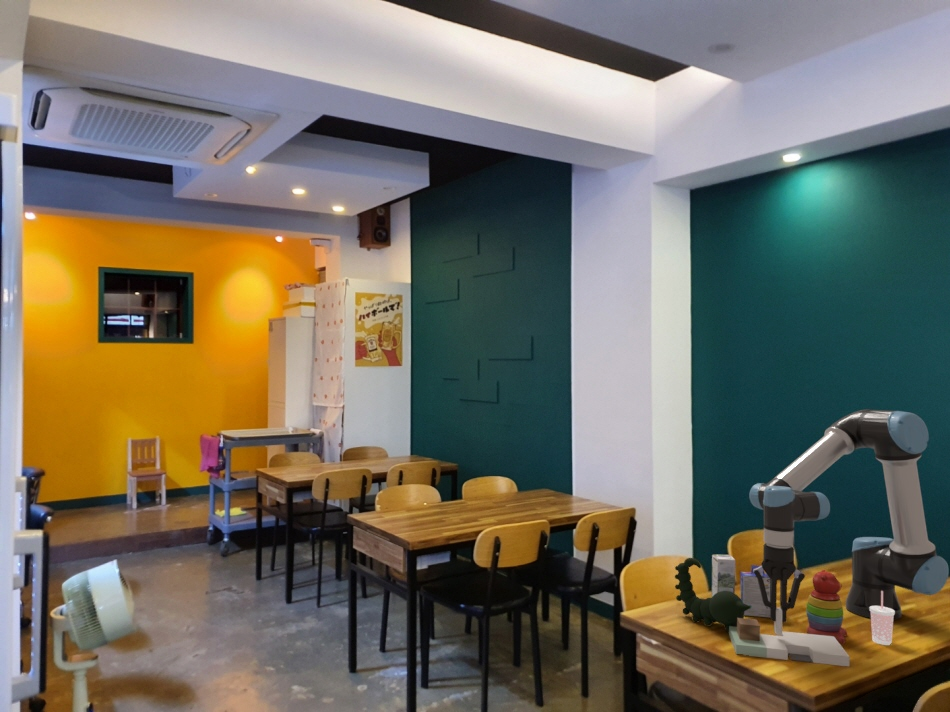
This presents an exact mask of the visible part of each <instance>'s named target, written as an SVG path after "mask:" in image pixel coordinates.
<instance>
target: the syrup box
mask: <svg viewBox="0 0 950 712" xmlns="http://www.w3.org/2000/svg"><path fill="white" fill-rule="evenodd" d="M711 557H712V558H711V597H710V598H712V597H713V596H714V595H715V594H716V593H718V592H720V591H730V592H733V593H735V592H736V586H735V585H736V559H735V558H734V557H733V556H732V555H730V554H712V555H711ZM735 594H736V593H735Z"/></svg>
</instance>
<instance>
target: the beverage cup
mask: <svg viewBox="0 0 950 712" xmlns="http://www.w3.org/2000/svg"><path fill="white" fill-rule="evenodd" d="M869 608H870V611H871V618H870V623H871V624H870V626H871V640H872V641H873V643H875V644H878V645H883V646H890V644H891V643H892V644H893V631H894V630H893V629H894V620H893V618H894V615H895V611H894V610H893V609H891V608H888V607H883V591H881V606H870V607H869ZM892 644H891V645H892Z"/></svg>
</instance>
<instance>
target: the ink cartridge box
mask: <svg viewBox="0 0 950 712" xmlns="http://www.w3.org/2000/svg"><path fill="white" fill-rule="evenodd" d="M760 566H761V565H757V564H756V565H755V564H752V565H750V571H740V599H741V600H742V602H743V603H744V604H746V605H749V606H750V609H748V610H746V611H745V612H744V616H747V617H749V616H750V617H758V618H759V617H760V618H762V617H763V618H770V608H769V607H766V606H765V605H764V603H763V600H762V596H761V592H760V588H759V584H758V580H757V577H756V575H755V573H754V572H753V568H758V567H760ZM762 578H763V581H764V585H765V589H766V593H767V597H768V601H770V578H769V576H768V575H767V574H766V572H765V571H764V570H763V575H762Z"/></svg>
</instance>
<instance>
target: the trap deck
mask: <svg viewBox="0 0 950 712" xmlns="http://www.w3.org/2000/svg"><path fill="white" fill-rule="evenodd" d="M728 636H729V638H730V641H731V644H732V647H733V649H735V650H734V652H736V653H735V655H737V654H744V655H743V656H746V655H749V657H758V658H765V659H766V658H768V659H776V660H784V661H785V660H786V661H789V658H790V659H791V661H792V662H793V661H794V662H804V663H813V664H814V663H815V664H821V665H832V666H840V667H841V666H842V667H850V655H849V654H848V653H847V651H846V650H845V649H844V648H843V646H842V645H841V644H839V642H838V641H837V640H836V638H835V637H834V636H825V635H815V634H808V633H802V632H794V631H793V632H792V631H784V630H782V635H776V634H775V635H772V634H766V633H765V634H763V633H760V641H753V640H743V639H740V638H739V636H738V633H737V627H734V626H729V633H728ZM788 656H789V657H788Z"/></svg>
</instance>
